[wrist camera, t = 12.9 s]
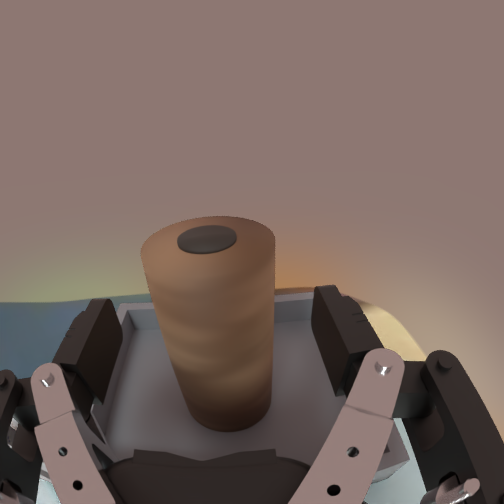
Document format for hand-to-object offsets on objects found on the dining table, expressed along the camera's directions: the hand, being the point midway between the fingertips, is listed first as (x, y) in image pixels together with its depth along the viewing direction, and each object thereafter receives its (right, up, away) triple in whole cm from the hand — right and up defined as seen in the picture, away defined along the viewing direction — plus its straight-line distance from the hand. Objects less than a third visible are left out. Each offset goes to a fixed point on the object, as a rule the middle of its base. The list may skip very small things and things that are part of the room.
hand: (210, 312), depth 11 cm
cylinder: (0, -6, +4) cm, 8 cm away
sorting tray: (0, -7, +5) cm, 9 cm away
